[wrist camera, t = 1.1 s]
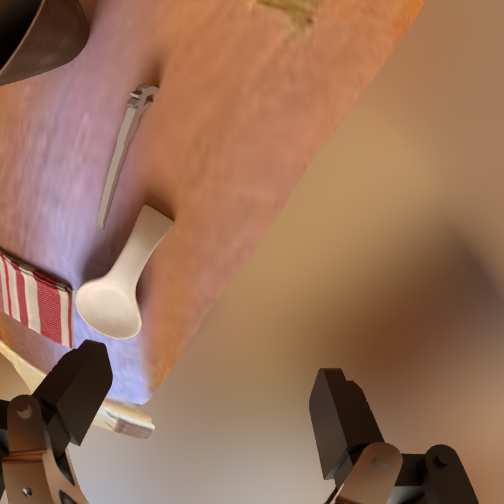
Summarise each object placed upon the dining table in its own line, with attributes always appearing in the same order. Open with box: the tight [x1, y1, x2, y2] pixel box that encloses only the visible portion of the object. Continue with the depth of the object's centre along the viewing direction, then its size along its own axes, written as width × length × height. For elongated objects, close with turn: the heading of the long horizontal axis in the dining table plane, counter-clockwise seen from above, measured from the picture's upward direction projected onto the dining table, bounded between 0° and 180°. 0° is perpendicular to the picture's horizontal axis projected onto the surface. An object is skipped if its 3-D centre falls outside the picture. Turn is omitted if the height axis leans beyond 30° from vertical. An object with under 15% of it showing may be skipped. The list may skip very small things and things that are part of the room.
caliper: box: [97, 84, 159, 230], centre depth 28 cm, size 20×1×6 cm, turn 151°
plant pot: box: [0, 0, 89, 86], centre depth 14 cm, size 15×15×16 cm
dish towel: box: [0, 250, 75, 349], centre depth 39 cm, size 17×23×3 cm
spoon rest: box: [75, 205, 174, 339], centre depth 35 cm, size 24×12×7 cm, turn 144°
